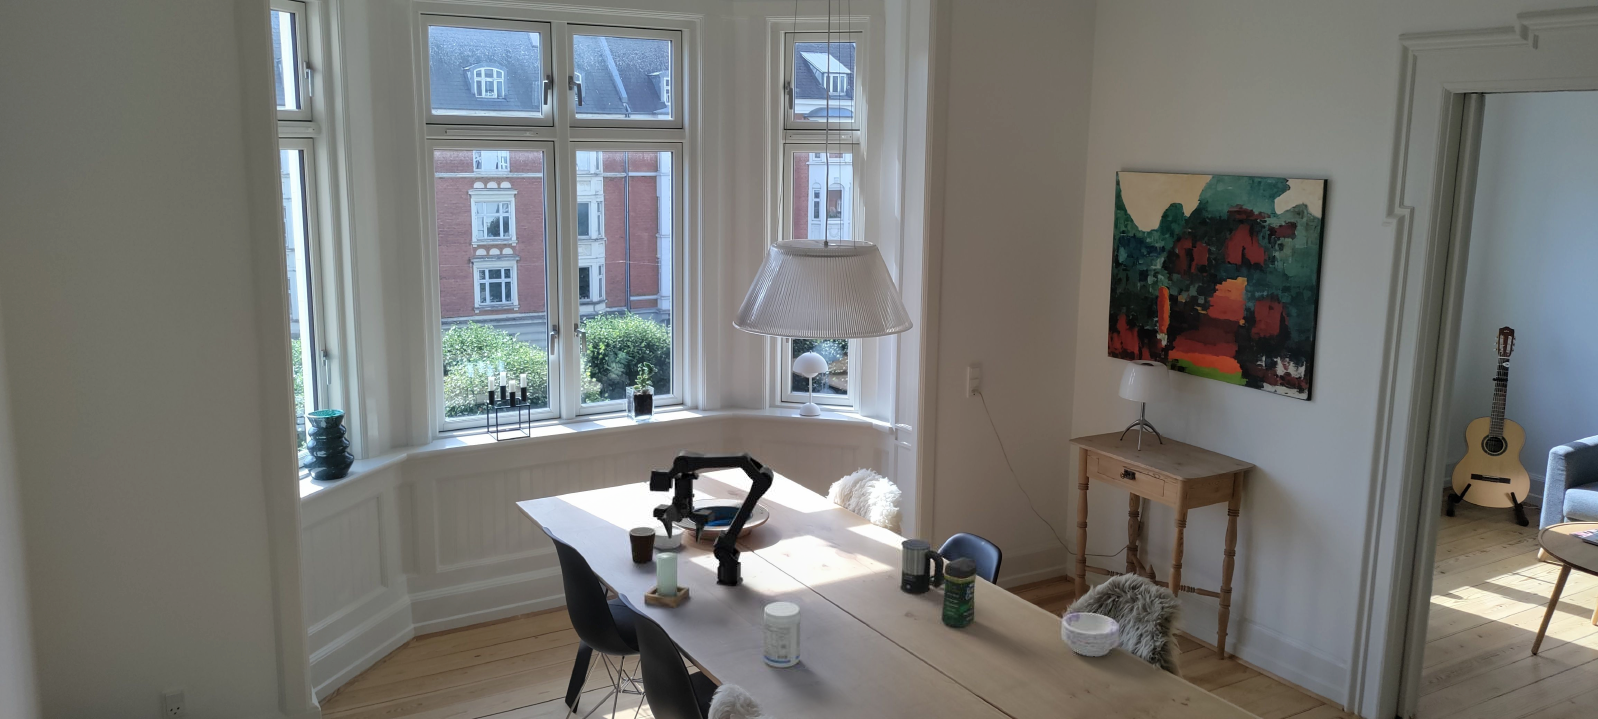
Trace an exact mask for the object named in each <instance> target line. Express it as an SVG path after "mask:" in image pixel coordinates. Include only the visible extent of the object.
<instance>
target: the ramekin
mask: <svg viewBox="0 0 1598 719" xmlns="http://www.w3.org/2000/svg"><path fill="white" fill-rule="evenodd" d="M652 528H653V529H655V530H656V532H655V540H654V548H656V549H661V550H671V549H675V548H678V547H679V546H680V545H681V544H682V539H683V535H684V530H683V528H682V527H680V526H677V525H672V538H671V539H669V537H668V535H667V532H666V529H665V527H664V525H663V524H662V525H658V526H654V527H652Z"/></svg>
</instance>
